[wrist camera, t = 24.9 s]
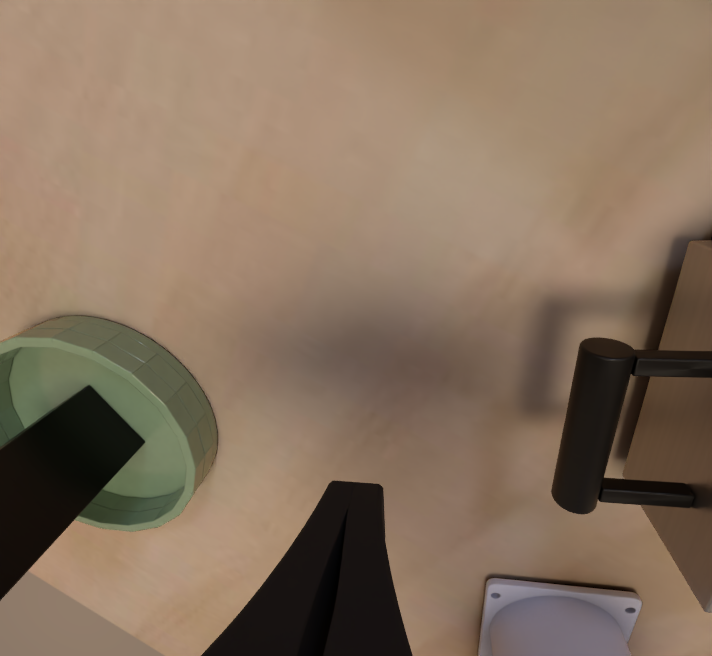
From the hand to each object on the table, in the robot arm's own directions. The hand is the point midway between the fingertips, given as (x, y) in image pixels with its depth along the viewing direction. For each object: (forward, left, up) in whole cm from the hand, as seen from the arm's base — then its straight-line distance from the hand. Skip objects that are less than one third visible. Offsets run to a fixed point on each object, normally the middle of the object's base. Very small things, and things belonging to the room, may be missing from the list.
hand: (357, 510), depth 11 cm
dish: (-4, +15, -8) cm, 18 cm away
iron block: (-4, +16, -8) cm, 18 cm away
